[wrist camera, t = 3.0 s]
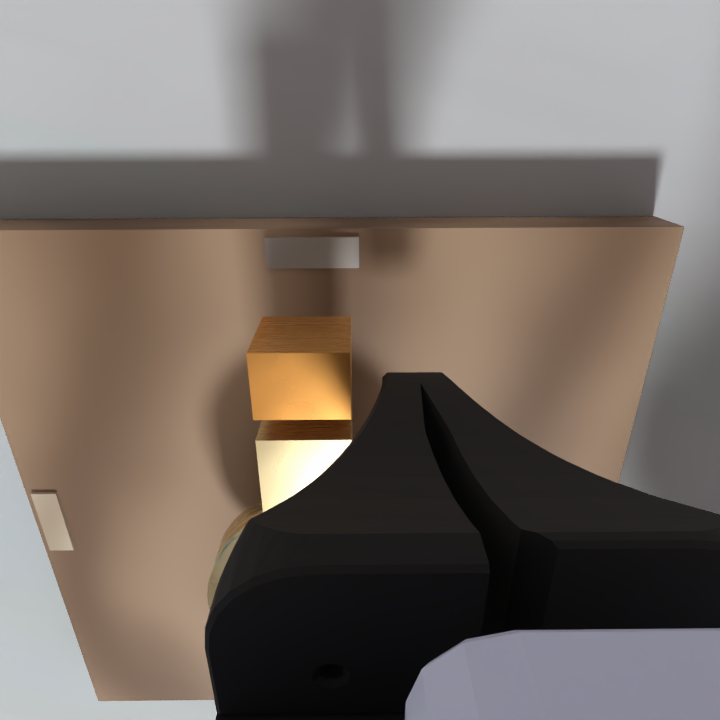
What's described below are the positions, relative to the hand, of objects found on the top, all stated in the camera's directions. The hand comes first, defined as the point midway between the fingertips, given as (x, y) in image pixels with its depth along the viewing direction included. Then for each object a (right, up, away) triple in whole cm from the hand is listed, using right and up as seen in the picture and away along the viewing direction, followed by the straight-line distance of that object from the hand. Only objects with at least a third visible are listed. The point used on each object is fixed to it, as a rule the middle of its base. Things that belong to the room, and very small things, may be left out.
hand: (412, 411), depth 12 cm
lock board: (-2, -3, +7) cm, 8 cm away
